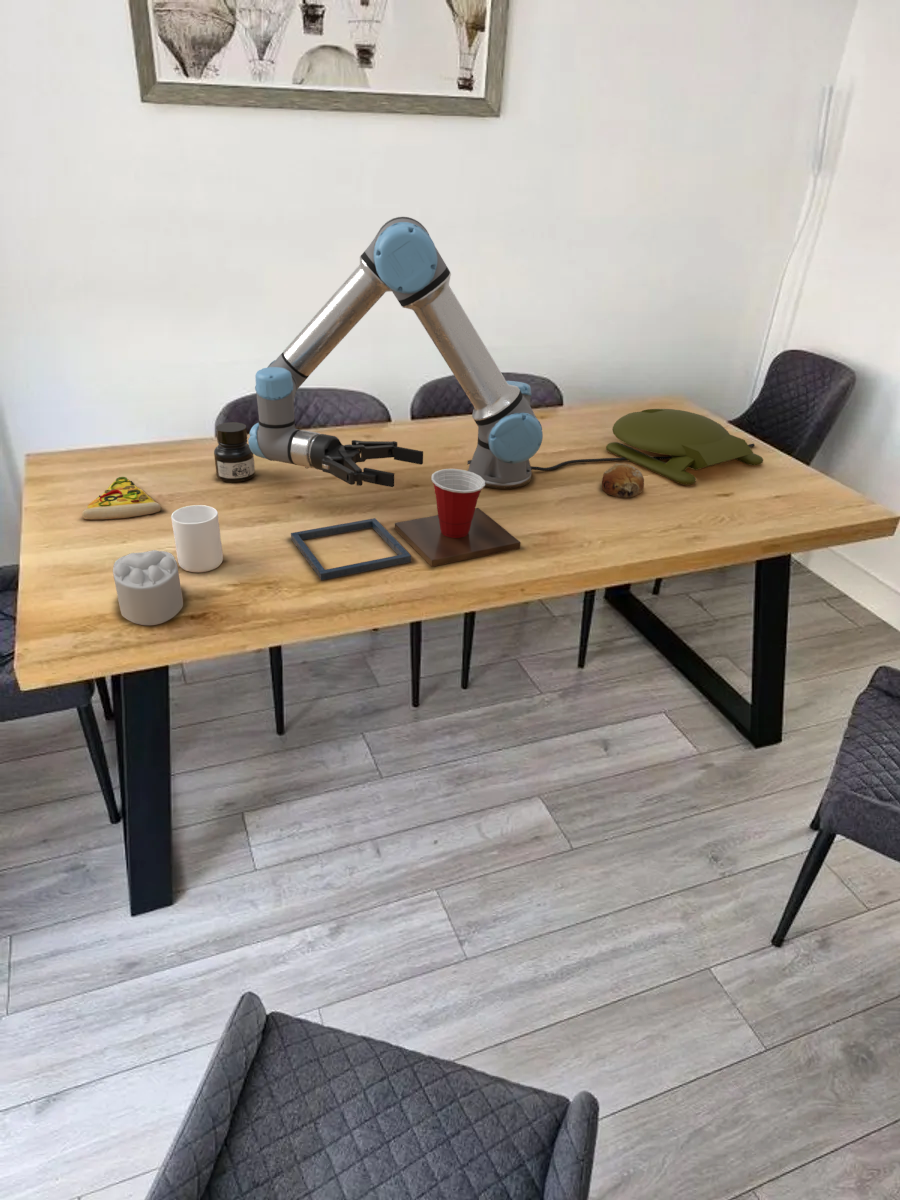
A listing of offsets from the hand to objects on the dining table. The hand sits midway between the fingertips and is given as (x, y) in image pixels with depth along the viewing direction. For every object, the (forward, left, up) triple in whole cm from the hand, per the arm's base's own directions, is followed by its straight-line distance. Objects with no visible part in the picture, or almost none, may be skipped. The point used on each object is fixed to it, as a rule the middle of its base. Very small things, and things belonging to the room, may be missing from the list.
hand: (408, 468), depth 167 cm
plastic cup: (-7, +9, -12) cm, 16 cm away
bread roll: (-55, +1, -13) cm, 57 cm away
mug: (+43, -3, -13) cm, 45 cm away
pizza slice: (+52, -37, -13) cm, 65 cm away
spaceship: (-83, -13, -13) cm, 85 cm away
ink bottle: (+26, -41, -13) cm, 50 cm away
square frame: (+15, +5, -13) cm, 21 cm away
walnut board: (-7, +9, -13) cm, 17 cm away
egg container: (+54, +11, -13) cm, 57 cm away
